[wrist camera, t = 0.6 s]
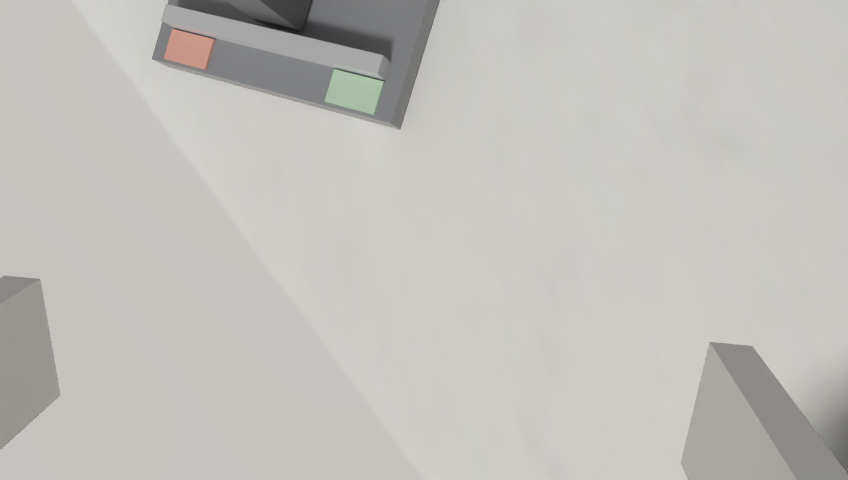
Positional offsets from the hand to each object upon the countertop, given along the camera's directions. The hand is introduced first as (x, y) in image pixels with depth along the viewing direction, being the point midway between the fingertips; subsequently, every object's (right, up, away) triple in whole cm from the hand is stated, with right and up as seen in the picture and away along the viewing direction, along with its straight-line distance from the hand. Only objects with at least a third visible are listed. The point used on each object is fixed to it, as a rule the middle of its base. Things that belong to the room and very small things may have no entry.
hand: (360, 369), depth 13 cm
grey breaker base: (-6, +16, +25) cm, 30 cm away
